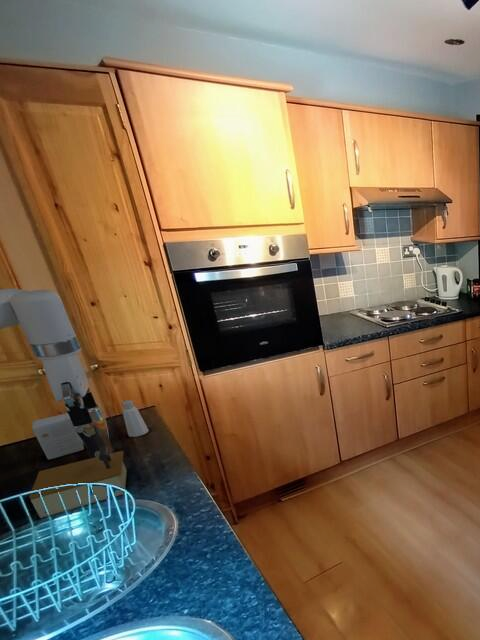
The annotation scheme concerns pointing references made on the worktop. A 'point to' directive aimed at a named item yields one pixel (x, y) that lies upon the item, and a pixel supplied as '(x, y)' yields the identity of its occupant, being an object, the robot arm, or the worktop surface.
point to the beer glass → (95, 433)
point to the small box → (57, 436)
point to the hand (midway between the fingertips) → (86, 416)
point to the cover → (79, 472)
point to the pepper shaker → (133, 420)
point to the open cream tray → (72, 499)
